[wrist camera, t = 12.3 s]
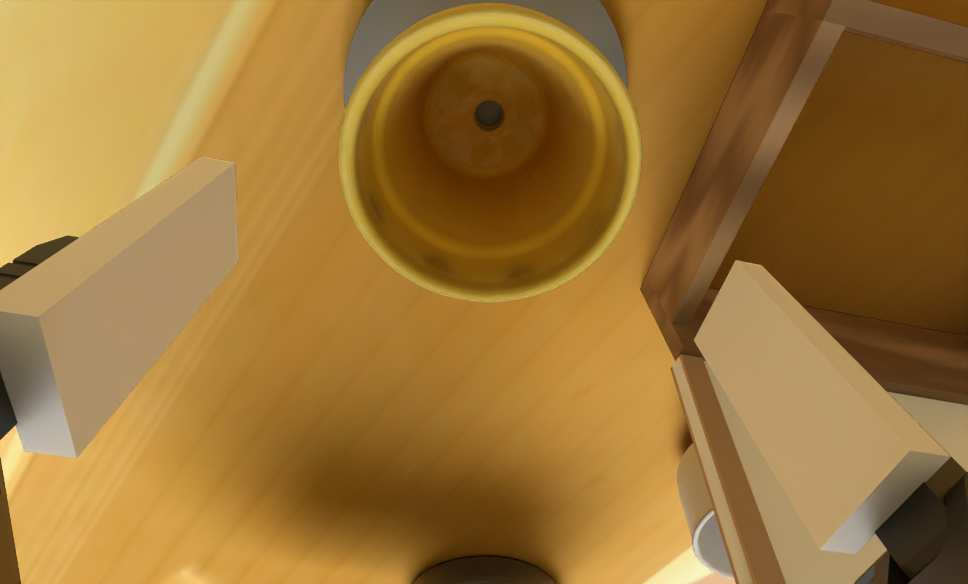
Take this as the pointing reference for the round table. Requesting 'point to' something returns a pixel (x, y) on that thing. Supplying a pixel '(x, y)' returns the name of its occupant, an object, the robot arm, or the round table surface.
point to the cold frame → (749, 158)
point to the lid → (761, 499)
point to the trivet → (408, 3)
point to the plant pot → (490, 153)
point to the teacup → (701, 515)
